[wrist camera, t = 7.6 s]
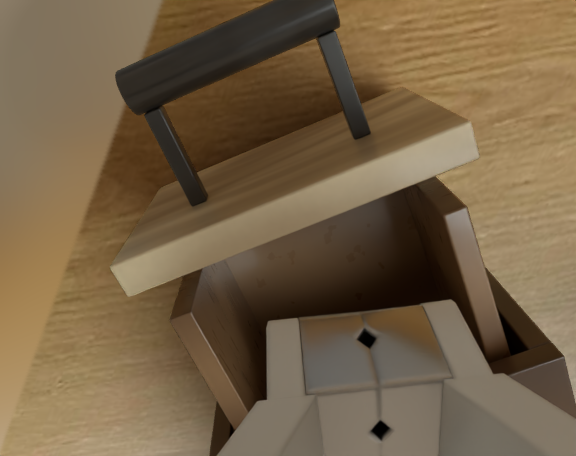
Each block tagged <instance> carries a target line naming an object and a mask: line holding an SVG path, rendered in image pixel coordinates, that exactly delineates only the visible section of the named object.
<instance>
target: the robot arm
mask: <svg viewBox="0 0 576 456" xmlns="http://www.w3.org/2000/svg"><path fill="white" fill-rule="evenodd" d="M299 321H300V323H299ZM266 335H267V400H262V401H257V402H256V403H255V405H254V406H253V408H252V409H251V410H250V412H249V413H248V414H247V416H246V417H245V418H244V420H243V421H242V422H241V424H240V425H239V426H238V428H237V429H236V430H235V432H234V433H233V435H232V436H231V437H230V439H229V440H228V441H227V443H226V444H225V445H224V447H223V448H222V449H221V451H220V452H219V453H218V455H217V456H576V419H575V418H574V417H572V416H571V415H569V414H567V413H566V412H564V411H563V410H561V409H559V408H558V407H556V406H555V405H553V404H552V403H550V402H548V401H547V400H545V399H544V398H542V397H540V396H539V395H537V394H536V393H534V392H532V391H531V390H529V389H528V388H526V387H524V386H523V385H521V384H520V383H518V382H517V381H515V380H513V379H512V378H510V377H509V376H507V375H505V374H504V373H501V374H493V373H492V371H491V369H490V367H489V365H488V363H487V361H486V360H485V358H484V356H483V354H482V352H481V350H480V348H479V346H478V344H477V342H476V341H475V339H474V337H473V335H472V333H471V331H470V329H469V327H468V325H467V323H466V322H465V320H464V318H463V316H462V314H461V312H460V310H459V308H458V306H457V305H456V303H455V302H454V301H452V300H451V299H450V300H443V301H436V302H428V303H421V304H420V305H410V306H402V307H394V308H386V309H378V310H370V311H362V312H351V313H340V314H330V315H319V316H308V317H299V319H298V318H292V319H282V320H272V321H268V324H267V327H266Z"/></svg>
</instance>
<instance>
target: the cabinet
mask: <svg viewBox="0 0 576 456" xmlns="http://www.w3.org/2000/svg"><path fill="white" fill-rule="evenodd" d="M485 269H486V273H487V276H488V279H489V283H490V286H491V290H492V293H493V297H494V300H495V303H496V307H497V310H498V314H499V317H500V320H501V324H502V327H503V331H504V334H505V337H506V341H507V344H508V348H509V351H510V354H511V356H510V357H507V358H504V359H501V360H499V361H496V362H493V363H490V364H488V365H489V367H490V369H491V371H492V373H493V374H501V373H504V374H505V375H507V376H509V377H510V378H512V379H513V380H515V381H517V382H518V383H520V384H521V385H523V386H524V387H526V388H528V389H529V390H531V391H532V392H534V393H536V394H537V395H539V396H540V397H542V398H544V399H545V400H547V401H548V402H550V403H552V404H553V405H555V406H556V407H558V408H559V409H561V410H563V411H564V412H566V413H567V414H569V415H571V416H572V417H574V418H575V419H576V403H575V399H574V395H573V391H572V387H571V383H570V379H569V375H568V370H567V366H566V362H565V358H564V356H563V355H562V353H561V352H560V351H559V350H558V349H557V348H556V347H555V345H554V344H553V343H551V341H550V340H549V339H548V338H547V337H546V336H545V335H544V333H543V332H542V331H541V330H540V329H539V328H538V327H537V325H536V324H535V323H534V322H533V321H532V320H531V319H530V317H529V316H528V315H527V314H526V313H525V312H524V311H523V309H522V308H521V307H520V306H519V305H518V304H517V303H516V302H515V300H514V299H513V298H512V297H511V296H510V295H509V294H508V292H507V291H506V290H505V289H504V288H503V287H502V286H501V284H500V283H499V282H498V281H497V280H496V279H495V278H494V276H493V275H492V274H491V273H490V272H489V271H488V270H487V268H486V267H485ZM234 432H235V430H234V428H233V427H232V425H231V423H230V422H229V420H228V418H227V417H226V415H225V413H224V412H223V410H222V408H221V407H220V405H219V403H218V402H216V410H215V417H214V425H213V432H212V440H211V447H210V455H209V456H217V455H218V453H219V452H220V451H221V449H222V448H223V447H224V445H225V444H226V443H227V441H228V440H229V439H230V437H231V436H232V435H233V433H234Z"/></svg>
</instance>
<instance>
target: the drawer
mask: <svg viewBox="0 0 576 456" xmlns="http://www.w3.org/2000/svg"><path fill="white" fill-rule="evenodd" d="M339 27H340V20H339V15H338V12H337V8H336V5H335V2H334V0H272V1H270V2H268V3H266V4H264V5H261V6H259V7H257V8H255V9H253V10H250V11H248V12H246V13H244V14H242V15H239V16H237V17H235V18H233V19H231V20H228V21H226V22H224V23H222V24H219V25H217V26H215V27H213V28H211V29H208V30H206V31H204V32H202V33H200V34H197V35H195V36H193V37H191V38H189V39H186V40H184V41H182V42H180V43H178V44H175V45H173V46H171V47H169V48H167V49H164V50H162V51H160V52H158V53H156V54H153V55H151V56H149V57H147V58H145V59H142V60H140V61H138V62H136V63H134V64H131V65H129V66H127V67H125V68H123V69H121V70H118V71H117V72H116V75H115V76H116V82H117V86H118V88H119V91H120V93H121V95H122V97H123V99H124V101H125V102H126V104H127V105H128V107H129V108H130V109H131V110H132V111H133V112H134V113H135V114H136V115H142V114H144V113H145V115H144V116H145V118H146V120H147V122H148V124H149V126H150V128H151V130H152V132H153V134H154V136H155V138H156V140H157V141H158V143H159V145H160V147H161V149H162V151H163V153H164V155H165V157H166V159H167V161H168V163H169V164H170V166H171V168H172V170H173V172H174V174H175V176H176V178H177V180H178V181H176V182H173V183H171V184H168V185H166V186H164V187H161V188H160V189H159V190H158V192H157V193H156V195H155V197H154V198H153V200H152V201H151V203H150V204H149V206H148V207H147V209H146V211H145V212H144V214H143V215H142V217H141V218H140V220H139V222H138V223H137V225H136V226H135V228H134V229H133V231H132V233H131V234H130V236H129V237H128V239H127V240H126V242H125V243H124V245H123V247H122V248H121V250H120V251H119V253H118V254H117V256H116V258H115V259H114V261H113V262H112V264H111V265H110V269H111V271H112V272H113V274H114V276H115V277H116V279H117V281H118V282H119V284H120V285H121V287H122V289H123V290H124V292H125V293H126V295H127V296H128V297H131V296H133V295H136V294H138V293H141V292H143V291H146V290H148V289H151V288H153V287H156V286H158V285H161V284H164V283H166V282H169V281H171V280H174V279H176V278H179V277H181V276H183V280H182V283H181V286H180V289H179V292H178V295H177V298H176V301H175V304H174V307H173V310H172V313H171V316H170V319H169V321H170V323H171V324H172V326H173V328H174V329H175V331H176V333H177V334H178V336H179V338H180V339H181V341H182V343H183V345H184V346H185V348H186V350H187V351H188V353H189V355H190V356H191V358H192V360H193V361H194V363H195V365H196V366H197V368H198V370H199V371H200V373H201V375H202V376H203V378H204V380H205V381H206V383H207V385H208V386H209V388H210V390H211V391H212V393H213V395H214V396H215V398H216V400H217V402H218V403H219V405H220V407H221V408H222V410H223V412H224V413H225V415H226V417H227V418H228V420H229V422H230V423H231V425H232V427H233V428H234V430H236V429H237V428H238V426H239V425H240V424H241V422H242V421H243V420H244V418H245V417H246V416H247V414H248V413H249V412H250V410H251V409H252V408H253V406H254V405H255V403H256V402H257V401H262V400H267V335H266V327H267V324H268V321H272V320H282V319H292V318H298V319H299V317H308V316H319V315H330V314H340V313H351V312H362V311H370V310H378V309H386V308H394V307H402V306H410V305H420V304H421V303H428V302H436V301H443V300H450V299H451V300H452V301H454V302H455V303H456V305H457V306H458V308H459V310H460V312H461V314H462V316H463V318H464V320H465V322H466V323H467V325H468V327H469V329H470V331H471V333H472V335H473V337H474V339H475V341H476V342H477V344H478V346H479V348H480V350H481V352H482V354H483V356H484V358H485V360H486V361H487V363H488V364H490V363H493V362H496V361H499V360H501V359H504V358H507V357H510V356H511V354H510V351H509V348H508V344H507V341H506V337H505V334H504V331H503V327H502V324H501V320H500V317H499V314H498V310H497V307H496V303H495V300H494V297H493V293H492V290H491V286H490V283H489V279H488V276H487V273H486V269H485V266H484V262H483V259H482V256H481V252H480V249H479V245H478V242H477V239H476V235H475V232H474V228H473V225H472V222H471V218H470V215H469V211H468V208H467V206H466V205H465V204H464V203H463V202H462V201H461V200H460V199H459V198H458V197H457V196H455V195H454V194H453V193H452V192H451V191H450V190H449V189H448V188H447V187H446V186H445V185H444V184H443V183H442V182H441V181H440V180H438V179H437V178H436V177H435V176H437V175H439V174H442V173H444V172H447V171H449V170H452V169H454V168H457V167H459V166H462V165H464V164H467V163H470V162H472V161H475V160H477V159H479V158H480V153H479V150H478V146H477V142H476V139H475V135H474V131H473V128H472V124H471V122H470V121H469V120H467V119H465V118H463V117H461V116H459V115H457V114H455V113H453V112H451V111H449V110H447V109H445V108H443V107H442V106H440V105H438V104H436V103H434V102H432V101H430V100H428V99H426V98H424V97H422V96H420V95H418V94H416V93H414V92H412V91H410V90H408V89H406V88H404V87H400V88H397V89H395V90H392V91H390V92H388V93H385V94H383V95H381V96H378V97H376V98H373V99H371V100H369V101H366V102H364V103H361V102H360V99H359V96H358V94H357V91H356V88H355V85H354V82H353V79H352V76H351V74H350V71H349V68H348V65H347V62H346V59H345V57H344V54H343V51H342V48H341V45H340V42H339V39H338V37H337V34H336V31H333V30H335V29H337V28H339ZM315 38H316V40H317V43H318V45H319V48H320V51H321V54H322V56H323V59H324V62H325V65H326V67H327V70H328V73H329V75H330V78H331V81H332V84H333V86H334V89H335V92H336V94H337V97H338V100H339V103H340V105H341V108H342V112H340V113H338V114H335V115H333V116H330V117H328V118H326V119H323V120H321V121H319V122H316V123H314V124H311V125H309V126H307V127H304V128H302V129H299V130H297V131H295V132H292V133H290V134H288V135H285V136H283V137H280V138H278V139H276V140H273V141H271V142H269V143H266V144H264V145H261V146H259V147H257V148H254V149H252V150H249V151H247V152H245V153H242V154H240V155H238V156H235V157H233V158H230V159H228V160H226V161H223V162H221V163H218V164H216V165H214V166H211V167H209V168H207V169H204V170H202V171H199V172H196V170H195V168H194V166H193V164H192V162H191V160H190V158H189V156H188V154H187V152H186V150H185V148H184V146H183V144H182V142H181V140H180V138H179V136H178V134H177V132H176V130H175V128H174V126H173V124H172V122H171V120H170V118H169V116H168V114H167V112H166V110H165V108H164V107H163V106H162V105H165V104H167V103H169V102H171V101H174V100H176V99H178V98H181V97H183V96H185V95H187V94H190V93H192V92H194V91H196V90H199V89H201V88H203V87H206V86H208V85H210V84H212V83H215V82H217V81H219V80H221V79H224V78H226V77H228V76H231V75H233V74H235V73H237V72H240V71H242V70H244V69H246V68H249V67H251V66H253V65H256V64H258V63H260V62H262V61H265V60H267V59H269V58H271V57H274V56H276V55H278V54H281V53H283V52H285V51H287V50H290V49H292V48H294V47H296V46H299V45H301V44H303V43H306V42H308V41H310V40H312V39H315ZM146 112H147V113H146ZM299 323H300V321H299Z"/></svg>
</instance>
